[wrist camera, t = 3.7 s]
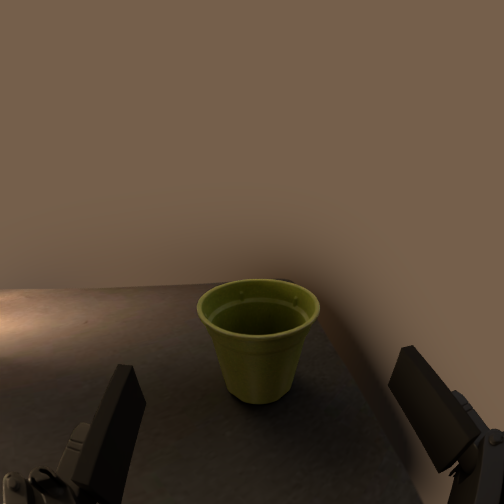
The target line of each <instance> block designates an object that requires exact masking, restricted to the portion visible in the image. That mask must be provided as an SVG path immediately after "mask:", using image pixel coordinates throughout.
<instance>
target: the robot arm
mask: <svg viewBox="0 0 504 504" xmlns="http://www.w3.org/2000/svg"><path fill="white" fill-rule="evenodd" d="M388 387H389V388H390V390H391V392H392V393H393V395H394V396H395V398H396V400H397V401H398V403H399V405H400V406H401V408H402V410H403V411H404V413H405V415H406V417H407V418H408V420H409V422H410V423H411V425H412V427H413V429H414V430H415V432H416V434H417V435H418V437H419V439H420V440H421V442H422V444H423V446H424V448H425V450H426V451H427V453H428V455H429V457H430V459H431V460H432V462H433V464H434V466H435V468H436V470H437V471H438V473H441V472H443V471H445V470H446V469H448V468H450V467H451V466H452V465H453V464H454V463H455V462H456V461H458V462H459V464H458V465H457V466H456V467H455V468H454V469H453V470H452V471H451V472H450V474H449V476H451V475H452V474H453V473H454V472H456V473H455V475H454V476H453V477H454V481H453V485H452V489H451V493H450V496H449V500H448V504H504V432H501V431H500V430H498V429H491V430H490V429H489V428H488V427H487V426H486V424H485V423H484V422H483V420H482V419H481V418H480V416H479V415H478V414H477V412H476V411H475V410H474V409H473V407H472V406H471V405H470V404H469V403H468V401H467V400H466V398H465V397H464V396H463V395H462V394H460V393H459V392H457V391H456V390H454V391H452V392H451V391H450V390H449V388H448V387H447V386H446V385H445V383H444V382H443V381H442V380H441V379H440V377H439V376H438V375H437V374H436V372H435V371H434V370H433V369H432V368H431V366H430V365H429V364H428V363H427V362H426V360H425V359H424V358H423V357H422V356H421V354H420V353H419V352H418V351H417V350H416V348H415V347H414V346H413V345H411V346H407V347H403V348H401V351H400V354H399V357H398V359H397V362H396V365H395V368H394V371H393V373H392V376H391V378H390V381H389V384H388ZM145 406H146V401H145V399H144V396H143V393H142V391H141V388H140V385H139V383H138V380H137V377H136V374H135V371H134V368H133V366H132V365H121V364H118V366H117V368H116V370H115V372H114V374H113V376H112V378H111V380H110V383H109V385H108V387H107V389H106V391H105V393H104V396H103V398H102V400H101V402H100V405H99V407H98V409H97V411H96V414H95V416H94V418H93V421H92V423H91V424H86V423H82V422H81V423H80V424H79V425H78V426H77V427H76V428H75V429H74V430H73V432H72V435H71V437H70V441H68V444H67V448H65V451H64V453H63V456H62V458H61V460H60V463H59V465H58V468H57V470H56V473H55V472H54V471H52V470H51V469H50V468H48V467H45V466H38V467H36V468H34V469H33V470H32V471H31V472H30V475H29V479H25V478H24V477H23V476H21V475H20V474H19V473H16V472H9V473H8V474H6V475H5V477H4V479H3V497H4V504H96V503H97V502H98V503H99V504H121V501H122V496H123V492H124V487H125V483H126V479H127V474H128V470H129V466H130V462H131V458H132V454H133V450H134V446H135V442H136V439H137V435H138V431H139V428H140V424H141V420H142V417H143V413H144V410H145Z"/></svg>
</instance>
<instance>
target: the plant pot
mask: <svg viewBox="0 0 504 504" xmlns="http://www.w3.org/2000/svg"><path fill="white" fill-rule="evenodd" d="M319 310H320V304H319V302H318V300H317V298H316V297H315V296H314V295H313V294H312V293H311V292H310V291H309V290H307V289H305V288H303V287H301V286H299V285H296V284H293V283H289V282H285V281H279V280H270V279H248V280H239V281H234V282H230V283H226V284H223V285H220V286H217V287H215V288H213V289H211V290H209V291H208V292H206V293H205V294H204V295H203V296H202V297H201V298H200V299H199V301H198V304H197V312H198V316H199V318H200V320H201V321H202V323H203V324H204V325H205V326H206V328H207V331H208V333H209V334H210V336H211V337H212V340H213V343H214V347H215V350H216V353H217V357H218V360H219V363H220V367H221V370H222V373H223V377H224V380H225V383H226V386H227V389H228V391H229V392H230V393H232V394H233V395H235V396H236V397H237V398H239V399H240V400H241V401H243V402H246V403H251V404H267V403H271V402H274V401H277V400H278V399H280V398H281V397H282V396H283V395H284V394H285V393H287V392H288V391H289V390H290V388H291V385H292V382H293V378H294V375H295V371H296V368H297V365H298V361H299V357H300V354H301V350H302V347H303V343H304V339H305V337H306V335H307V334H308V332H309V330H310V328H311V325H312V324H313V323H314V322H315V320H316V319H317V317H318V315H319Z"/></svg>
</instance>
